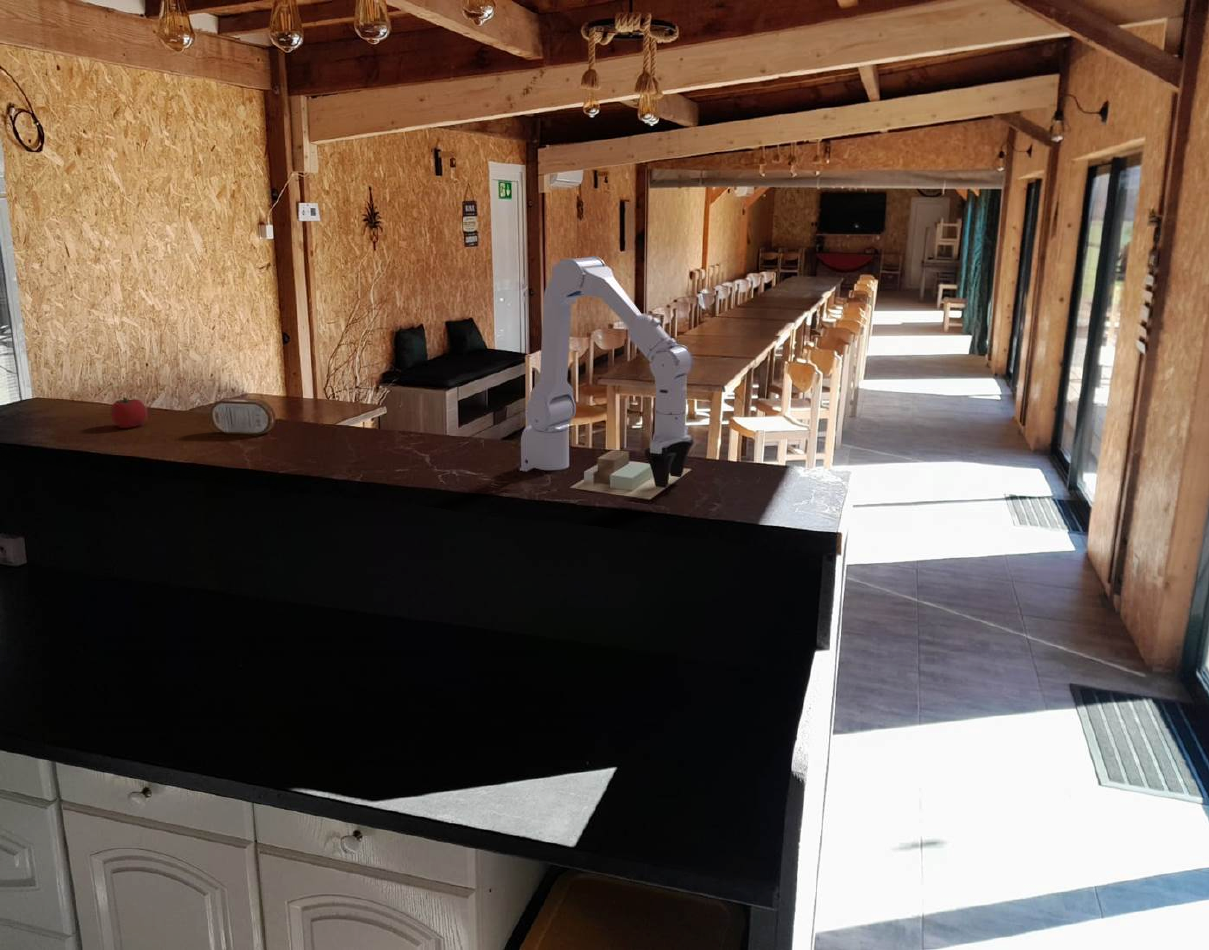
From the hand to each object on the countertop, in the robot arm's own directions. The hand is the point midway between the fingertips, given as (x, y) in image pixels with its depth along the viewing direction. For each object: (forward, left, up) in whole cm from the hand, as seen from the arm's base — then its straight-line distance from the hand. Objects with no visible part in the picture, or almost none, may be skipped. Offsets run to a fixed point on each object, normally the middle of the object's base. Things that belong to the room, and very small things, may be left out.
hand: (668, 481), depth 179 cm
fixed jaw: (-14, 0, -2) cm, 15 cm away
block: (-12, 0, -1) cm, 12 cm away
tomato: (-137, -8, -3) cm, 138 cm away
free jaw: (-8, 0, -1) cm, 8 cm away
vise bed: (-9, +3, -2) cm, 9 cm away
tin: (-107, -1, -3) cm, 108 cm away
